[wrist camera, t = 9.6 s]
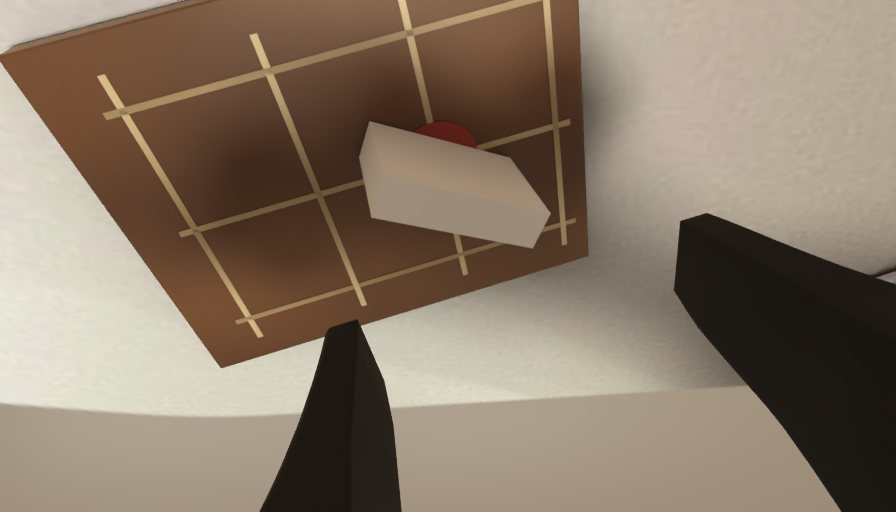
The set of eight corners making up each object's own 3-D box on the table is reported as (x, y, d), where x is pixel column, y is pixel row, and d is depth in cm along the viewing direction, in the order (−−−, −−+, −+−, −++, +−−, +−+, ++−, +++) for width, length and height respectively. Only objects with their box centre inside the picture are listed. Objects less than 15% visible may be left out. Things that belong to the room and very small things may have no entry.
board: (578, 242, 22) (589, 257, 21) (223, 350, 21) (220, 370, 20) (560, -99, 14) (576, -98, 14) (13, 46, 14) (-7, 57, 13)
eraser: (496, 189, 18) (533, 249, 15) (358, 157, 16) (370, 218, 14) (510, 157, 18) (551, 212, 15) (369, 120, 16) (384, 175, 13)
